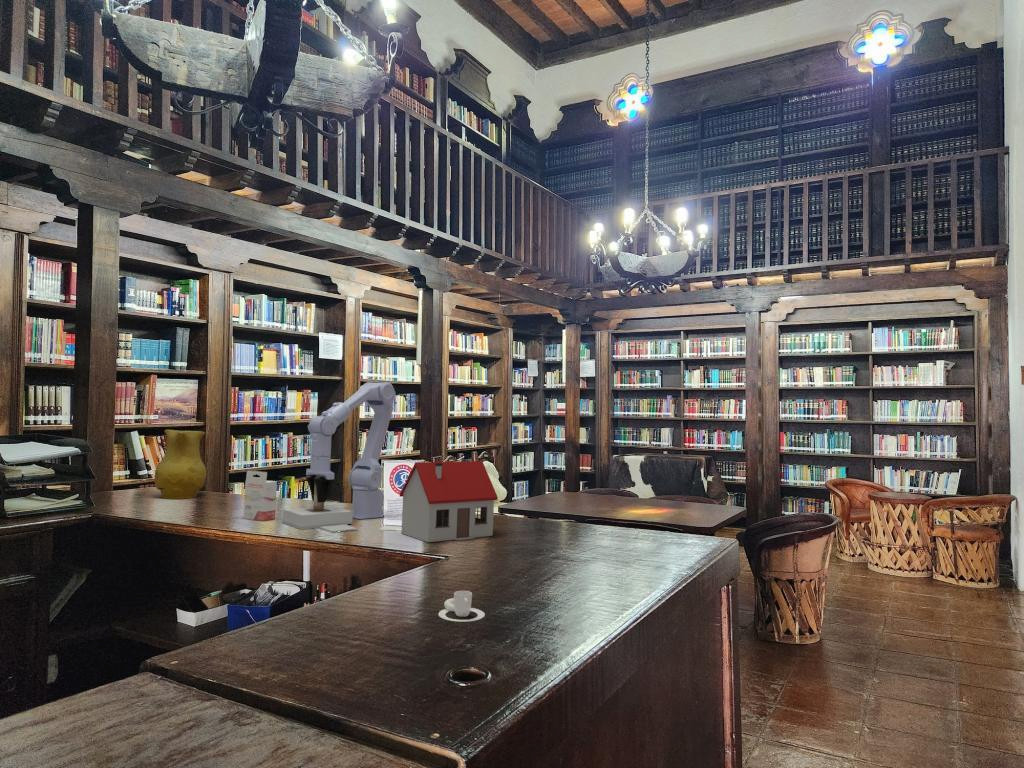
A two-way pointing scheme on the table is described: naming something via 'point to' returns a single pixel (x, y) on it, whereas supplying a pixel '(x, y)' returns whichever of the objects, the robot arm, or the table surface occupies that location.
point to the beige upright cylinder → (317, 505)
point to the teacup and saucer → (460, 607)
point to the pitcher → (181, 466)
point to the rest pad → (338, 528)
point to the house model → (448, 501)
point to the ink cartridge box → (259, 497)
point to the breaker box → (316, 517)
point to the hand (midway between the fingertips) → (318, 501)
